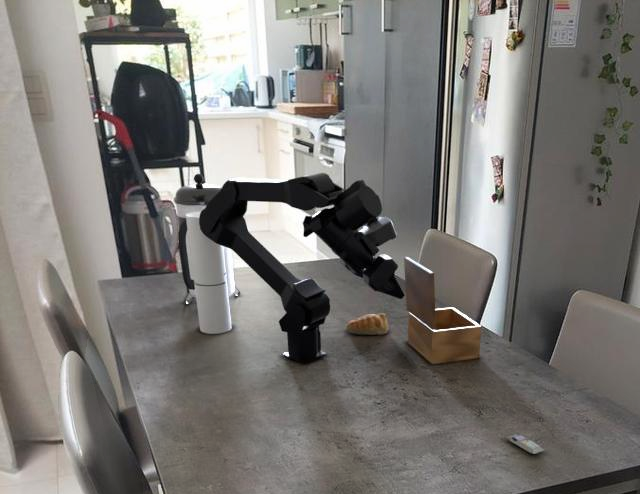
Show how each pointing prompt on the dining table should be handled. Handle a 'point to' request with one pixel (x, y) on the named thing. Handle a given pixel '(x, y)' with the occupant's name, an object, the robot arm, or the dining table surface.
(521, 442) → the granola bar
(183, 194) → the coffee press
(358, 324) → the pastry
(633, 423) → the dining table surface
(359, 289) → the dining table surface
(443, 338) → the caddy
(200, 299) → the cylindrical container
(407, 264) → the lid
